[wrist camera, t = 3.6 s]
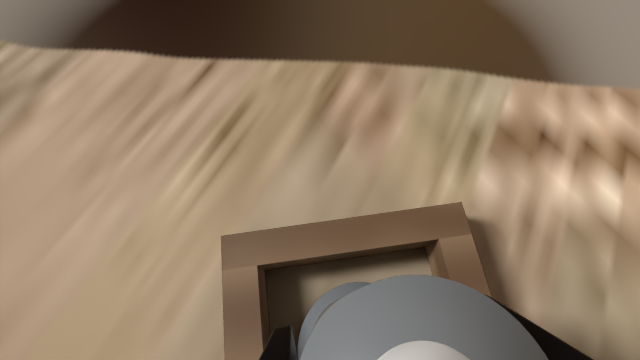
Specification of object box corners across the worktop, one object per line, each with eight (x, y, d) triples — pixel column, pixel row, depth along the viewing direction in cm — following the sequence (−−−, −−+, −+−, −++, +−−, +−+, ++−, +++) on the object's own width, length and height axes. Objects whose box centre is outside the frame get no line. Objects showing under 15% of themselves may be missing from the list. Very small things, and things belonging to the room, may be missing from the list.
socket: (495, 380, 14) (521, 391, 12) (240, 422, 14) (227, 441, 12) (446, 213, 17) (461, 202, 15) (232, 244, 16) (221, 235, 14)
